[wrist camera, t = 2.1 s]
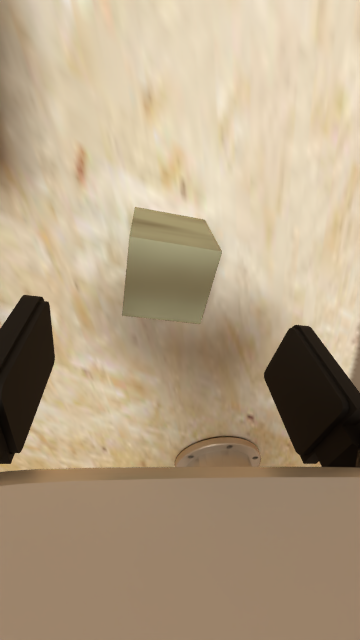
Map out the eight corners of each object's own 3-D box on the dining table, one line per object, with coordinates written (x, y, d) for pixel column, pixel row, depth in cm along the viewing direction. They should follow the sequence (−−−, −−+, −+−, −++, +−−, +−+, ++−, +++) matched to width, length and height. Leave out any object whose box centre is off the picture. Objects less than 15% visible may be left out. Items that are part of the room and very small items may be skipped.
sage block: (189, 280, 22) (200, 323, 18) (128, 272, 22) (122, 315, 17) (204, 219, 20) (222, 251, 15) (135, 206, 19) (129, 236, 14)
